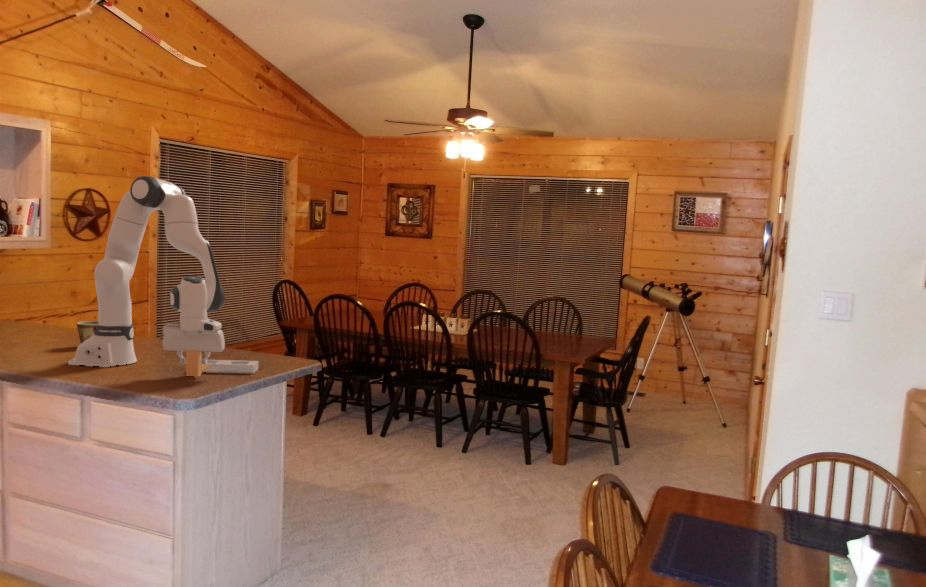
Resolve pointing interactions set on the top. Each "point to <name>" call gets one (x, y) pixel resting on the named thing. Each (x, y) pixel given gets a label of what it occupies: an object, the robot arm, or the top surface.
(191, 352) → the square peg
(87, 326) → the ceramic cup
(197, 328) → the robot arm
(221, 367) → the white recessed tray
